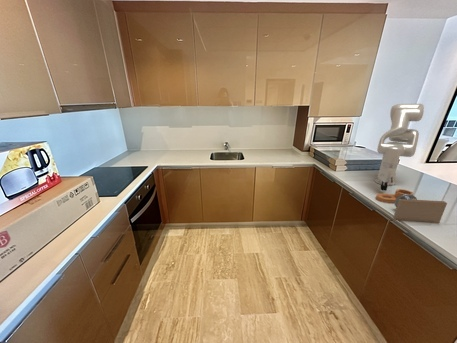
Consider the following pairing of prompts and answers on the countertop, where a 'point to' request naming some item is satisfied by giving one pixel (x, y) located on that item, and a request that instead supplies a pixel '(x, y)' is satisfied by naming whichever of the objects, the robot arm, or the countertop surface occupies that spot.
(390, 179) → the robot arm
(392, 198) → the bracket
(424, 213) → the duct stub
